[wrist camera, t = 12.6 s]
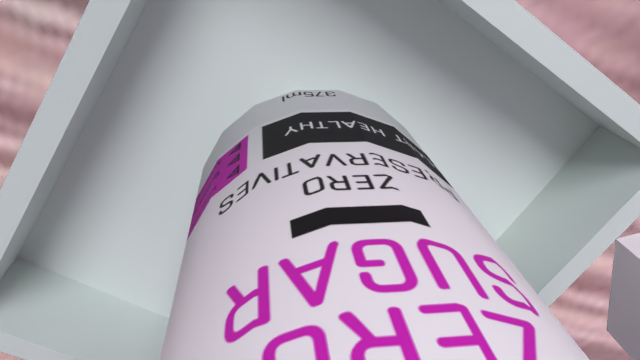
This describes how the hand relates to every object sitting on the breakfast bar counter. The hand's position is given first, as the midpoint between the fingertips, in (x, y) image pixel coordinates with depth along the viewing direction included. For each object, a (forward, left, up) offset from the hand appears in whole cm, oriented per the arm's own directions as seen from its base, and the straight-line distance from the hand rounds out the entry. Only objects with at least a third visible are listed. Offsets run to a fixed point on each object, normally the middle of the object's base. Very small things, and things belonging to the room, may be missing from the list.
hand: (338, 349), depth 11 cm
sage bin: (0, 0, -9) cm, 9 cm away
